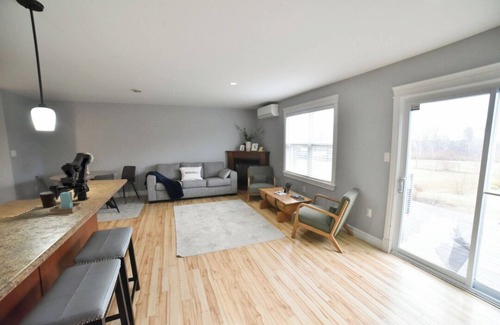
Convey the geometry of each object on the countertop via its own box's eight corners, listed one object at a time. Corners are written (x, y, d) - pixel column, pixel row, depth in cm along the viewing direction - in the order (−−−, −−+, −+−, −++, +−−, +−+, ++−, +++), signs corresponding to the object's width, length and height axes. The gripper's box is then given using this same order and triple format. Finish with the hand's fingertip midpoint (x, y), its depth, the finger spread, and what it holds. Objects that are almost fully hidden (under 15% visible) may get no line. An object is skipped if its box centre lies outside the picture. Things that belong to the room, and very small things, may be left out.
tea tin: (64, 209, 138) (62, 192, 136) (73, 208, 140) (71, 191, 138) (61, 211, 134) (59, 193, 132) (70, 210, 135) (68, 193, 134)
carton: (65, 207, 144) (65, 202, 144) (85, 205, 147) (85, 201, 146) (46, 216, 127) (45, 211, 126) (69, 215, 129) (68, 209, 129)
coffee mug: (49, 208, 141) (48, 194, 140) (37, 208, 141) (35, 194, 140) (65, 203, 152) (63, 190, 151) (53, 203, 152) (52, 190, 151)
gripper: (48, 173, 134) (40, 194, 125) (83, 171, 141) (78, 191, 132) (55, 182, 142) (49, 202, 133) (88, 180, 149) (84, 199, 140)
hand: (65, 199), depth 134 cm, fingers open, 9 cm apart
